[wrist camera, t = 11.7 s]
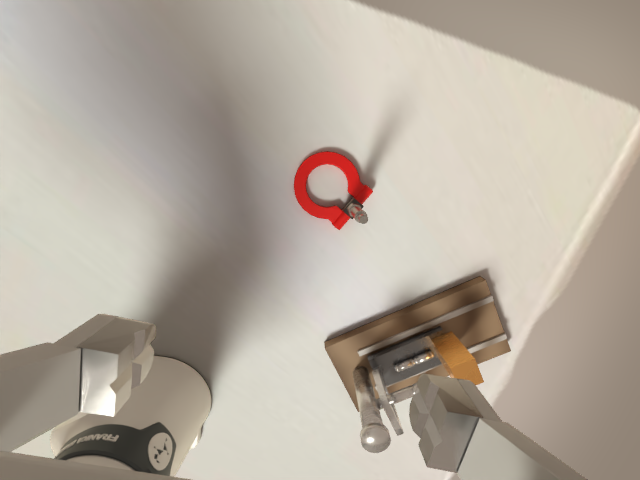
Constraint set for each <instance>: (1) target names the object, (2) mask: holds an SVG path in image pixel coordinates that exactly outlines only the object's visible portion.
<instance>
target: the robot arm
mask: <svg viewBox="0 0 640 480" xmlns="http://www.w3.org/2000/svg"><path fill="white" fill-rule="evenodd" d="M155 338H156V326H155V325H154V324H152V323H147V322H143V321H138V320H133V319H128V318H123V317H118V316H113V315H107V314H98V315H96V316H95V317H93V318H92V319H90V320H88V321H87V322H85V323H84V324H82V325H81V326H79V327H78V328H76V329H75V330H73V331H72V332H70V333H69V334H67V335H66V336H64V337H63V338H61V339H60V340H58V341H57V342H55V343H43V344H40V345H36V346H32V347H28V348H24V349H20V350H17V351H13V352H9V353H5V354H1V355H0V480H191V479H185V478H178V477H174V476H175V475H176V473H177V471H178V469H179V468H180V466H181V464H182V462H183V461H184V459H185V457H186V455H187V453H188V452H189V450H190V449H192V448H195V447H196V446H197V444H198V442H199V440H200V437H201V427H202V425H203V423H204V422H205V420H206V419H207V417H208V415H209V412H210V409H211V395H210V391H209V388H208V386H207V384H206V382H205V381H204V379H203V378H202V377H201V375H200V374H199V373H198V372H197V371H195V370H194V369H193V368H192V367H190V366H189V365H187V364H185V363H183V362H181V361H178V360H175V359H172V358H167V357H160V356H154V350H153V348H152V346H151V345H150V343H151V342H152V341H153V340H154V339H155ZM417 386H418V389H419V392H418V393H416V394H415V395H414V396H413V397H412V400H411V403H410V413H409V416H410V422H411V426H412V429H413V431H414V432H415V433H416V434H417V435H418V436H419V437H420V438H421V439H420V442H419V447H420V450H421V453H422V455H423V458H424V460H425V463H426V466H427V467H429V468H434V469H439V470H445V471H450V472H455V473H457V475H458V476H459V478H460V479H461V480H588V479H586V478H585V477H583V476H582V475H580V474H579V473H577V472H576V471H575V470H573V469H572V468H571V467H569V466H568V465H566V464H565V463H564V462H562V461H561V460H559V459H558V458H557V457H555V456H554V455H552V454H551V453H550V452H548V451H547V450H545V449H544V448H543V447H541V446H540V445H538V444H537V443H535V442H534V441H533V440H531V439H530V438H528V437H527V436H526V435H524V434H523V433H521V432H520V431H518V430H517V429H516V428H514V427H513V426H511V425H510V424H508V423H506V422H502V420H501V419H500V418H499V416H498V415H497V414H496V412H495V411H494V410H493V408H492V407H491V406H490V404H489V403H488V402H487V400H486V399H485V398H484V396H483V395H482V394H481V392H480V391H479V390H478V388H477V387H476V386H475V384H474V383H473V382H471V381H470V380H464V379H457V378H449V377H443V376H437V375H430V374H424V373H422V374H421V375H420V377H419V379H418V382H417ZM54 427H55V428H54ZM52 428H54V429H53V430H52V432H51V435H50V444H51V448H52V451H53V453H54V455H55V458H54V459H52V458H45V457H39V456H32V455H25V454H19V453H12V452H11V451H13V450H15V449H17V448H18V447H20V446H22V445H24V444H26V443H27V442H29V441H31V440H33V439H34V438H36V437H38V436H40V435H42V434H43V433H45V432H47V431H49V430H51V429H52Z"/></svg>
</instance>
